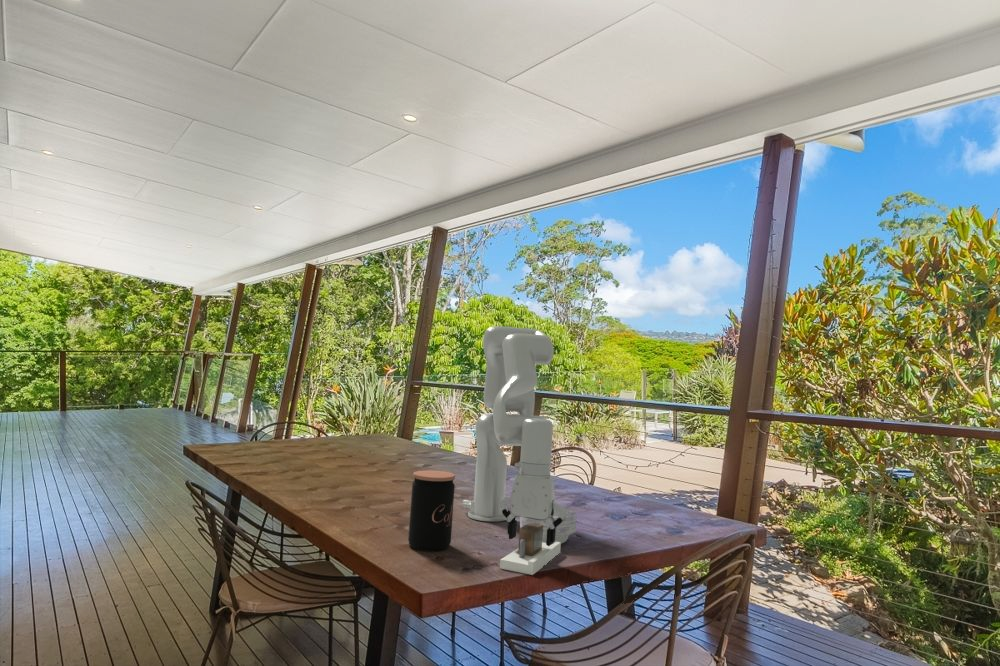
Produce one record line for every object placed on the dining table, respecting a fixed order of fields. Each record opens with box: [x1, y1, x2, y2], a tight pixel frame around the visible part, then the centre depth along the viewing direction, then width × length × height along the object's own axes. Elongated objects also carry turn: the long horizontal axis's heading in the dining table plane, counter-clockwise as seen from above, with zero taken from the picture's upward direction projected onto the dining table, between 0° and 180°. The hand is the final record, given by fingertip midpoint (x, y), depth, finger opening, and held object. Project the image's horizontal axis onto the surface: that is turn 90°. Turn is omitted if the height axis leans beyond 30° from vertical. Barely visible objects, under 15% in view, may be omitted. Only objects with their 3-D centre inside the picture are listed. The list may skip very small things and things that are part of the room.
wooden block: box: [517, 523, 543, 556], centre depth 150 cm, size 4×7×6 cm, turn 157°
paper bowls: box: [519, 508, 577, 545], centre depth 169 cm, size 15×15×8 cm
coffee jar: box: [407, 469, 456, 552], centre depth 157 cm, size 11×11×18 cm
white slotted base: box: [499, 539, 562, 576], centre depth 149 cm, size 8×20×6 cm, turn 156°
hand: (530, 541), depth 150 cm, fingers open, 9 cm apart
